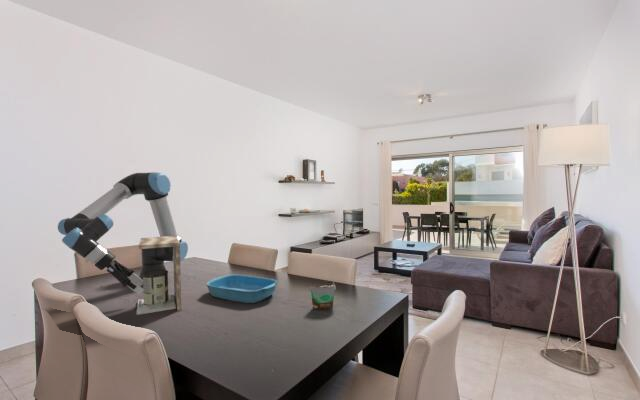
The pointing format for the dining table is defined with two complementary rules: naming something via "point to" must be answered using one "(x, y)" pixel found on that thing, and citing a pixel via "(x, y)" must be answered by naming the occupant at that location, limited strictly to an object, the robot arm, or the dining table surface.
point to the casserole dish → (242, 288)
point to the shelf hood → (173, 242)
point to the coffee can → (155, 287)
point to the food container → (323, 296)
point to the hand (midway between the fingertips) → (142, 288)
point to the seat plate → (156, 306)
